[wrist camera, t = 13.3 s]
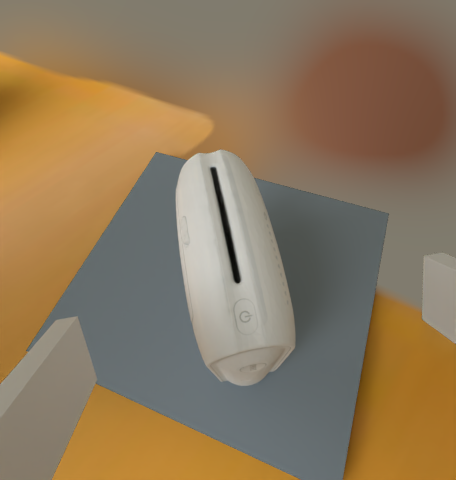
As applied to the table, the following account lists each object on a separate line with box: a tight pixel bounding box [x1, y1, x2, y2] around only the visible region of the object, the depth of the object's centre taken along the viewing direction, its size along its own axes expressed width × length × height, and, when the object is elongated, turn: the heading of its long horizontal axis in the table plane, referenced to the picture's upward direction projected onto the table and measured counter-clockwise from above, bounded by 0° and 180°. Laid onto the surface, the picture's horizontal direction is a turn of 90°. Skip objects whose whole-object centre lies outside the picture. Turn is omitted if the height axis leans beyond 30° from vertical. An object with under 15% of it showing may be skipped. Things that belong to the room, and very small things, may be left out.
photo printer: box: [176, 150, 295, 386], centre depth 17 cm, size 10×4×12 cm, turn 11°
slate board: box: [26, 152, 389, 480], centre depth 25 cm, size 22×20×2 cm
